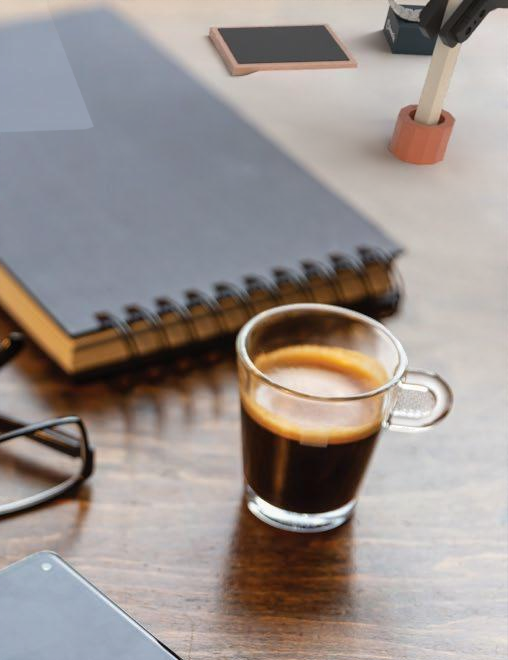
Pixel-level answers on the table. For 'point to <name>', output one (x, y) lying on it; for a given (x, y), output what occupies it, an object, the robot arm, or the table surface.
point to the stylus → (438, 76)
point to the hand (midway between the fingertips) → (435, 36)
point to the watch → (406, 31)
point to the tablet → (280, 48)
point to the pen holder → (420, 137)
